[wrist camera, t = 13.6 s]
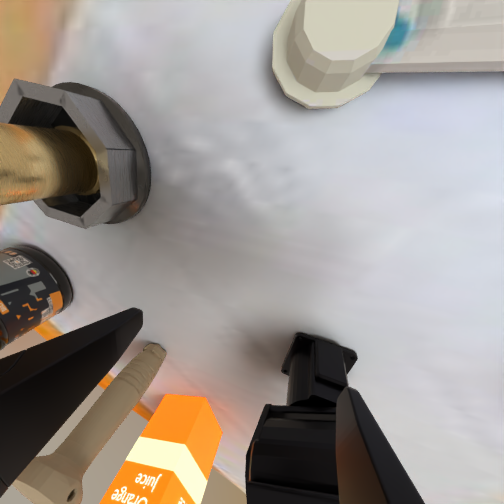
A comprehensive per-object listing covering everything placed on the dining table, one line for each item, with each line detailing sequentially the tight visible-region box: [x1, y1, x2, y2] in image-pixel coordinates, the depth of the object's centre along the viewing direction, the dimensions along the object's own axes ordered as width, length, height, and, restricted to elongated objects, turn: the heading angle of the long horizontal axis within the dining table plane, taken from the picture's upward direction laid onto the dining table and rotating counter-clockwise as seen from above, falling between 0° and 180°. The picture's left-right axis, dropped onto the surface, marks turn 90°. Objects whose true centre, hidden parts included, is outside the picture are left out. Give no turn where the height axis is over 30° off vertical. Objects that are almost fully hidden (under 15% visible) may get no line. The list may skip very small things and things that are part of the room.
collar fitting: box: [0, 79, 151, 229], centre depth 19 cm, size 12×12×4 cm
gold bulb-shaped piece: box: [0, 123, 100, 205], centre depth 15 cm, size 6×6×10 cm
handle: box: [12, 343, 166, 504], centre depth 24 cm, size 5×6×15 cm
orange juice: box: [100, 394, 222, 504], centre depth 26 cm, size 8×9×20 cm
